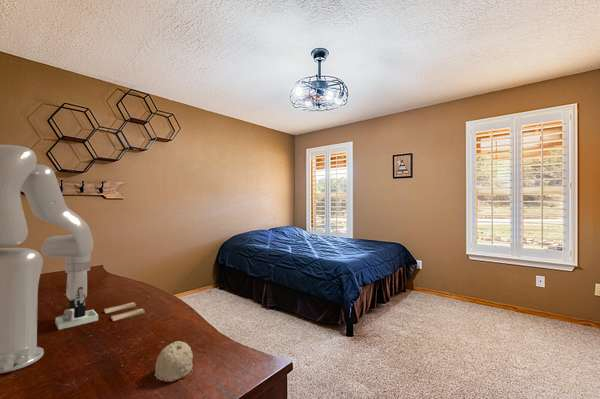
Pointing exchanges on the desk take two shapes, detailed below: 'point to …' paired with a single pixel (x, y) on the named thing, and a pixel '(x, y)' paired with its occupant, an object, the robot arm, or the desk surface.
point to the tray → (88, 317)
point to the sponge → (174, 361)
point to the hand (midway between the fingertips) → (77, 313)
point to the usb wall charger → (69, 315)
